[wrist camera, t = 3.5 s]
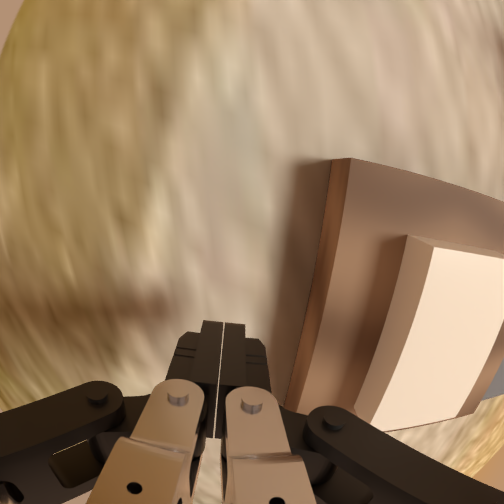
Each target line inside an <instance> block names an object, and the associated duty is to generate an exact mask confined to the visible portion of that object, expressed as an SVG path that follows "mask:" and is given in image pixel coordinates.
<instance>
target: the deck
mask: <svg viewBox="0 0 504 504" xmlns="http://www.w3.org/2000/svg"><path fill="white" fill-rule="evenodd" d="M408 235H413V236H419V237H425V238H431V239H436V240H442V241H447V242H453V243H458V244H463V245H468V246H474V247H479V248H484V249H489V250H494V251H497V252H499V253H502V254H504V202H502V201H500V200H497V199H494V198H492V197H489V196H486V195H483V194H481V193H478V192H475V191H472V190H469V189H466V188H463V187H460V186H457V185H454V184H450V183H447V182H444V181H441V180H437V179H434V178H430V177H427V176H423V175H420V174H416V173H413V172H409V171H405V170H401V169H397V168H393V167H389V166H385V165H381V164H377V163H372V162H368V161H364V160H359V159H354V158H343V159H332V164H331V172H330V179H329V186H328V193H327V200H326V206H325V213H324V219H323V225H322V231H321V237H320V243H319V248H318V254H317V260H316V265H315V270H314V276H313V281H312V286H311V291H310V296H309V301H308V306H307V311H306V315H305V320H304V325H303V329H302V334H301V338H300V342H299V347H298V351H297V355H296V360H295V364H294V368H293V372H292V376H291V380H290V384H289V388H288V392H287V396H286V400H285V403H284V407H283V408H285V409H287V410H289V411H292V412H296V413H300V414H304V415H309V413H310V412H311V411H312V410H313V409H315V408H317V407H320V406H327V405H329V406H337V407H341V408H343V409H345V410H347V411H349V412H351V413H352V414H354V415H356V416H357V414H356V411H355V409H354V405H355V403H356V400H357V398H358V395H359V393H360V391H361V388H362V386H363V383H364V381H365V378H366V375H367V373H368V370H369V368H370V365H371V362H372V359H373V357H374V354H375V351H376V348H377V345H378V342H379V339H380V336H381V333H382V330H383V327H384V324H385V321H386V318H387V314H388V311H389V308H390V304H391V301H392V297H393V294H394V290H395V286H396V283H397V279H398V275H399V271H400V267H401V263H402V258H403V254H404V250H405V245H406V240H407V236H408ZM503 358H504V320H503V323H502V325H501V328H500V330H499V333H498V335H497V338H496V340H495V342H494V345H493V347H492V349H491V351H490V354H489V356H488V358H487V360H486V362H485V364H484V366H483V368H482V370H481V372H480V374H479V376H478V378H477V380H476V382H475V384H474V386H473V388H472V390H471V392H470V393H469V395H468V397H467V399H466V400H465V402H464V404H463V406H462V407H461V409H460V411H459V412H458V414H457V415H456V417H454V418H458V417H462V416H465V415H469V414H472V413H474V411H475V410H476V408H477V407H478V405H479V403H480V401H481V400H482V398H483V396H484V395H485V393H486V391H487V389H488V387H489V386H490V384H491V382H492V380H493V378H494V376H495V374H496V372H497V370H498V368H499V366H500V364H501V362H502V360H503ZM357 417H358V416H357ZM454 418H450V419H454ZM450 419H446V420H450ZM446 420H442V421H446ZM442 421H438V422H442ZM438 422H433V423H438ZM433 423H428V424H424V425H429V424H433ZM424 425H418V426H413V427H408V428H414V427H419V426H424ZM408 428H402V429H408ZM402 429H396V430H402ZM396 430H389V431H382V432H390V431H396Z"/></svg>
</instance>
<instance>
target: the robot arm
mask: <svg viewBox="0 0 504 504" xmlns="http://www.w3.org/2000/svg"><path fill="white" fill-rule="evenodd" d="M222 332H223V322H216V321H207V320H203V324H202V328H201V332H200V333H195V332H186V333H185V334H184V335H183V336H181V337H180V338H179V340H178V343H177V346H176V349H175V352H174V356H173V358H172V361H171V364H170V367H169V370H168V373H167V376H166V379H165V381H163V382H161V383H159V384H158V385H157V386H155V388H154V389H153V391H152V393H151V394H149V395H145V396H132V397H123V395H122V392H121V391H120V389H119V388H118V387H117V386H115V385H113V384H111V383H109V382H105V381H91V382H87V383H84V384H82V385H79V386H77V387H74V388H71V389H69V390H66V391H63V392H60V393H58V394H55V395H52V396H49V397H47V398H44V399H41V400H38V401H35V402H32V403H29V404H26V405H23V406H20V407H17V408H14V409H11V410H8V411H5V412H2V413H0V504H62V503H64V502H66V501H69V500H71V499H73V498H75V497H77V496H80V495H82V494H84V493H86V492H88V491H90V490H92V489H93V490H92V492H91V494H90V496H89V498H88V500H87V502H86V504H192V503H193V498H194V493H195V488H196V484H197V479H198V475H199V470H200V465H201V461H202V453H203V451H204V448H205V441H206V437H207V438H213V429H214V418H215V408H216V397H217V387H218V377H219V366H220V355H221V344H222ZM215 438H218V439H221V453H220V472H221V490H222V504H504V492H503V491H500V490H498V489H495V488H493V487H491V486H488V485H486V484H484V483H481V482H479V481H477V480H475V479H473V478H471V477H468V476H466V475H464V474H462V473H460V472H458V471H456V470H454V469H452V468H449V467H447V466H445V465H443V464H441V463H439V462H437V461H436V460H434V459H432V458H430V457H428V456H426V455H424V454H422V453H420V452H418V451H416V450H415V449H413V448H411V447H409V446H407V445H405V444H404V443H402V442H400V441H398V440H396V439H395V438H393V437H391V436H389V435H388V434H386V433H384V432H382V431H381V430H379V429H377V428H376V427H374V426H372V425H370V424H369V423H367V422H365V421H364V420H362V419H360V418H359V417H357V416H356V415H354V414H352V413H351V412H349V411H347V410H345V409H343V408H341V407H337V406H329V405H327V406H320V407H317V408H315V409H313V410H312V411H311V412H310V413H309V415H304V414H300V413H296V412H292V411H289V410H287V409H285V408H283V407H281V406H280V405H279V404H278V402H277V400H276V398H275V397H274V396H273V395H272V394H271V387H270V379H269V372H268V365H267V358H266V349H265V346H264V345H263V344H262V343H261V341H260V340H259V339H254V338H245V324H236V323H226V322H225V329H224V339H223V349H222V359H221V369H220V380H219V391H218V404H217V417H216V430H215ZM86 439H87V440H86ZM84 440H86V441H84ZM82 441H84V442H82ZM80 442H82V443H80ZM77 443H80V444H77ZM75 444H77V445H75ZM73 445H75V446H73ZM71 446H73V447H71ZM68 447H70V448H68ZM66 448H68V449H66ZM63 449H66V450H63ZM61 450H63V451H61ZM59 451H61V452H59ZM56 452H59V453H56ZM54 453H56V454H54ZM53 454H54V455H53Z"/></svg>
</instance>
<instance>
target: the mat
mask: <svg viewBox="0 0 504 504" xmlns="http://www.w3.org/2000/svg"><path fill="white" fill-rule="evenodd" d="M502 394H504V358H503V360H502V362H501V364H500V366H499V368H498V370H497V372H496V374H495V376H494V378H493V380H492V382H491V384H490V386H489V387H488V389H487V391H486V393H485V395H484V396H483V398H482V400H486V399H489V398H492V397H496V396H499V395H502ZM482 400H481V401H482Z"/></svg>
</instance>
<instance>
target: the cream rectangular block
mask: <svg viewBox="0 0 504 504" xmlns="http://www.w3.org/2000/svg"><path fill="white" fill-rule="evenodd" d="M503 320H504V254H502V253H499V252H497V251H494V250H489V249H484V248H479V247H474V246H468V245H463V244H458V243H453V242H447V241H442V240H436V239H431V238H425V237H419V236H413V235H408V236H407V240H406V245H405V250H404V254H403V258H402V263H401V267H400V271H399V275H398V279H397V283H396V286H395V290H394V294H393V297H392V301H391V304H390V308H389V311H388V314H387V318H386V321H385V324H384V327H383V330H382V333H381V336H380V339H379V342H378V345H377V348H376V351H375V354H374V357H373V359H372V362H371V365H370V368H369V370H368V373H367V375H366V378H365V381H364V383H363V386H362V388H361V391H360V393H359V395H358V398H357V400H356V403H355V405H354V409H355V411H356V414H357V416H358V417H359V418H360V419H362V420H364V421H365V422H367V423H369V424H370V425H372V426H374V427H376V428H377V429H379V430H381V431H389V430H396V429H402V428H408V427H413V426H418V425H424V424H428V423H433V422H438V421H442V420H446V419H450V418H454V417H456V415H457V414H458V412H459V411H460V409H461V407H462V406H463V404H464V402H465V400H466V399H467V397H468V395H469V393H470V392H471V390H472V388H473V386H474V384H475V382H476V380H477V378H478V376H479V374H480V372H481V370H482V368H483V366H484V364H485V362H486V360H487V358H488V356H489V354H490V351H491V349H492V347H493V345H494V342H495V340H496V338H497V335H498V333H499V330H500V328H501V325H502V323H503Z"/></svg>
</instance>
